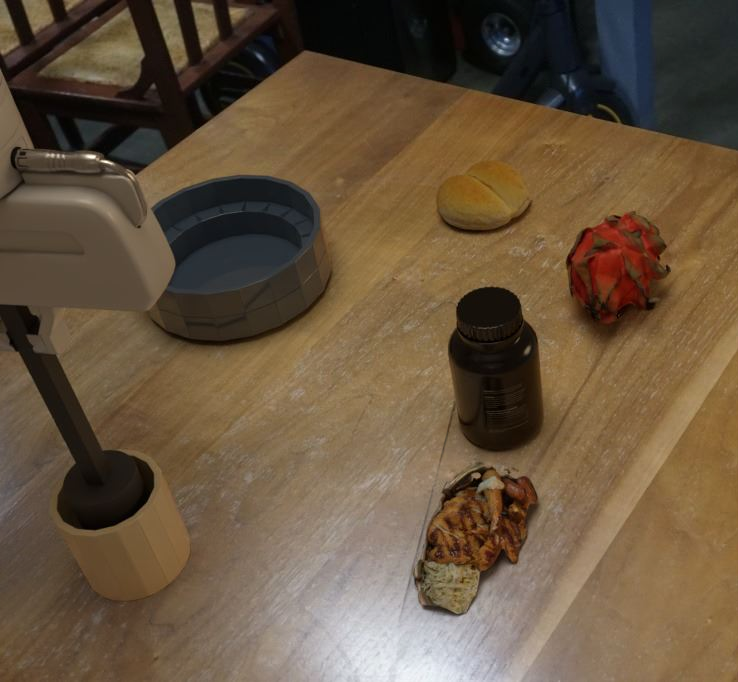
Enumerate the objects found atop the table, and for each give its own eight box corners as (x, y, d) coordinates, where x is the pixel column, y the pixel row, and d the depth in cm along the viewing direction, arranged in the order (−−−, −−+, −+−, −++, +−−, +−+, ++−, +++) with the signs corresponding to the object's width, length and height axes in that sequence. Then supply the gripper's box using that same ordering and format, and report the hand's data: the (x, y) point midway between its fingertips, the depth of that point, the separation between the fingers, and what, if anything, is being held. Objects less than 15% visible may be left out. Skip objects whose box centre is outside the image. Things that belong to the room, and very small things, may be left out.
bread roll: (422, 209, 109) (417, 175, 106) (494, 172, 112) (491, 139, 110) (473, 247, 104) (469, 213, 101) (545, 208, 108) (544, 174, 105)
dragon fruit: (647, 268, 102) (605, 366, 96) (573, 216, 101) (526, 312, 94) (701, 226, 95) (660, 329, 89) (623, 170, 94) (575, 270, 87)
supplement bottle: (555, 398, 89) (549, 285, 81) (527, 460, 84) (518, 347, 76) (476, 381, 91) (462, 269, 83) (445, 441, 86) (427, 329, 78)
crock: (71, 599, 78) (30, 530, 72) (113, 515, 83) (78, 445, 77) (169, 609, 76) (135, 540, 71) (206, 523, 82) (177, 453, 76)
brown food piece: (398, 602, 76) (391, 571, 73) (456, 471, 84) (451, 440, 81) (495, 625, 74) (491, 595, 71) (544, 489, 82) (542, 457, 80)
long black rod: (75, 548, 75) (-52, 322, 61) (104, 493, 79) (-10, 266, 64) (141, 554, 75) (28, 326, 60) (167, 498, 78) (66, 270, 64)
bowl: (116, 339, 97) (94, 288, 93) (185, 221, 110) (168, 171, 106) (302, 351, 95) (288, 298, 91) (352, 228, 107) (341, 177, 103)
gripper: (151, 119, 56) (218, 319, 66) (-205, 109, 59) (-93, 302, 69) (100, 191, 52) (179, 395, 61) (-283, 177, 55) (-151, 373, 64)
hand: (33, 345), depth 65 cm, fingers closed on long black rod
